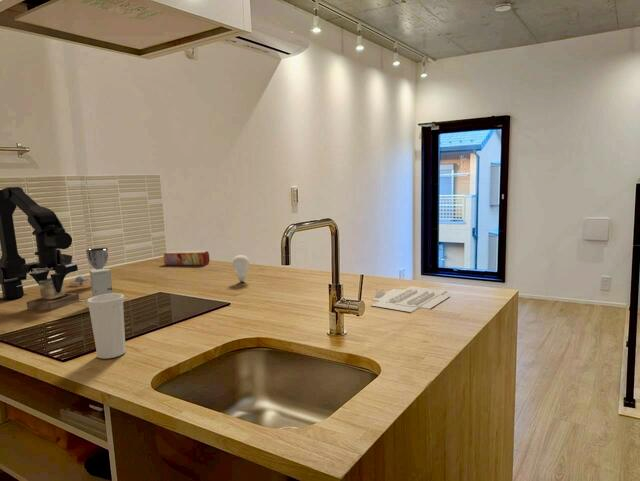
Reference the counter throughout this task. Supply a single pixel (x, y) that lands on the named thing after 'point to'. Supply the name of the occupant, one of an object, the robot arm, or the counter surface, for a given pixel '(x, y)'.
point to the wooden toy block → (49, 289)
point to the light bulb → (241, 266)
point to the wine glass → (97, 257)
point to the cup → (108, 324)
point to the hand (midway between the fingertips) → (52, 292)
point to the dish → (77, 284)
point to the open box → (52, 302)
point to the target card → (84, 299)
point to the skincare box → (101, 282)
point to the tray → (409, 298)
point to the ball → (80, 279)
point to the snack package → (186, 258)
